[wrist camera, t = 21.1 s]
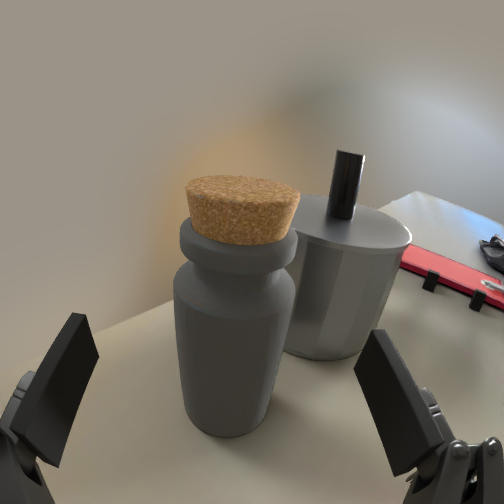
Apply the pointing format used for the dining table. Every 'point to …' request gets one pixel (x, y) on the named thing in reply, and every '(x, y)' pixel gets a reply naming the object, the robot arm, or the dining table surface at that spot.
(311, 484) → the dining table surface
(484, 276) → the red board with handle
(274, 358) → the bottle
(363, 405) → the dining table surface
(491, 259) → the dark slate chunk
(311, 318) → the pot
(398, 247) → the pot lid
